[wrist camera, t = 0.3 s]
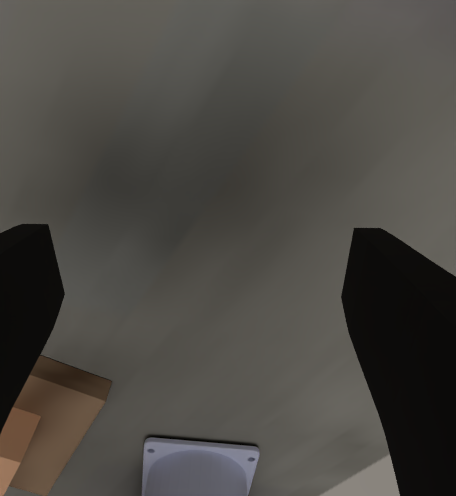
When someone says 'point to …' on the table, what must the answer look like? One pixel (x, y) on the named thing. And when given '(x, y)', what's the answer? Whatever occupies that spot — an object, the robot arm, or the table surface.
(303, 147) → the table surface
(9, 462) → the collar
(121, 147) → the table surface
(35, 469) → the walnut board
